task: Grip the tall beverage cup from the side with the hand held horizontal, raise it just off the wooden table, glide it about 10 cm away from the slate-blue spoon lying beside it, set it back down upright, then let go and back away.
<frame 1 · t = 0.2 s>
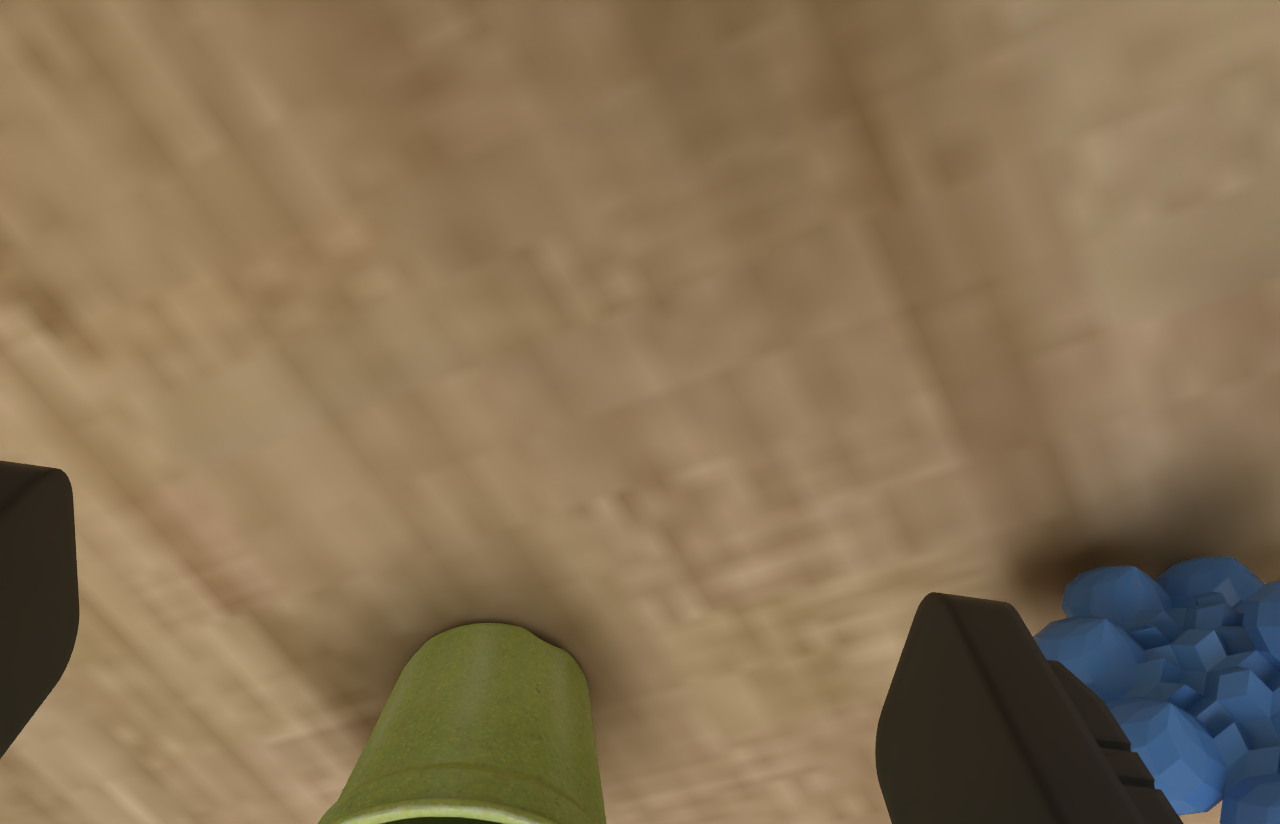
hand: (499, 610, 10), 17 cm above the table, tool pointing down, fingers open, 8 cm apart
plant pot: (493, 688, 33), on the table
grapes: (1184, 542, 31), on the table
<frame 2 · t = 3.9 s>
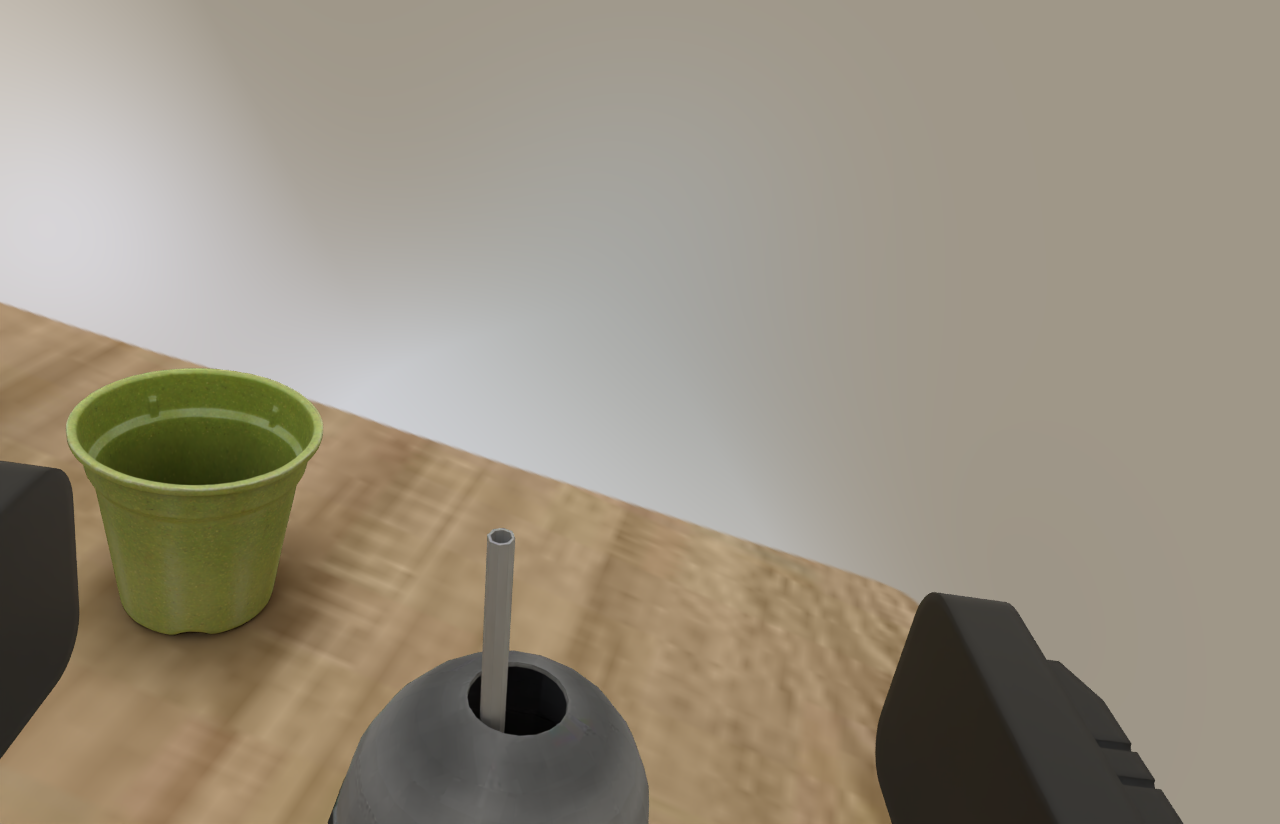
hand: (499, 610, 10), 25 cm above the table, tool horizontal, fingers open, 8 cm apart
plant pot: (200, 597, 45), on the table
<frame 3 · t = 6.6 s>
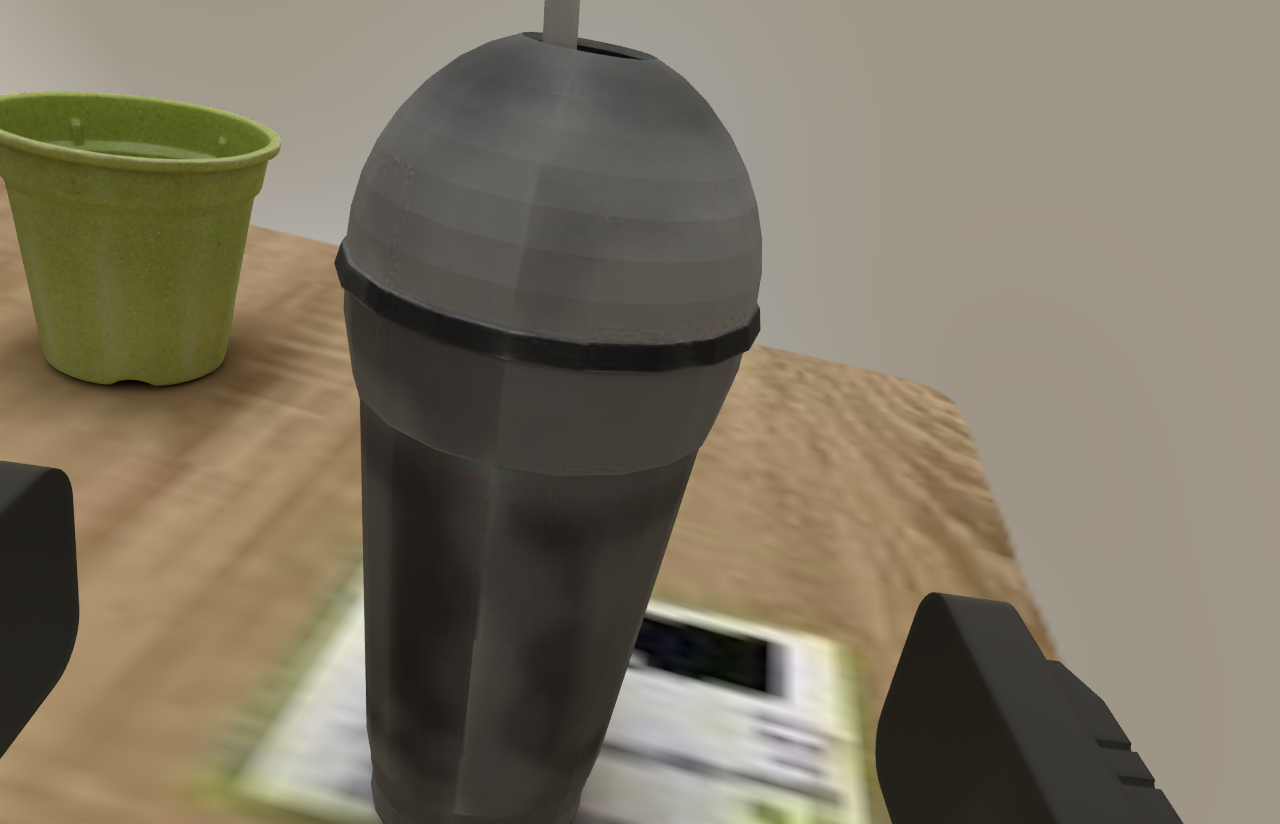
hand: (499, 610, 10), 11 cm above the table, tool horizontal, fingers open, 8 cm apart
beverage cup: (477, 790, 22), on the table
plant pot: (139, 361, 38), on the table
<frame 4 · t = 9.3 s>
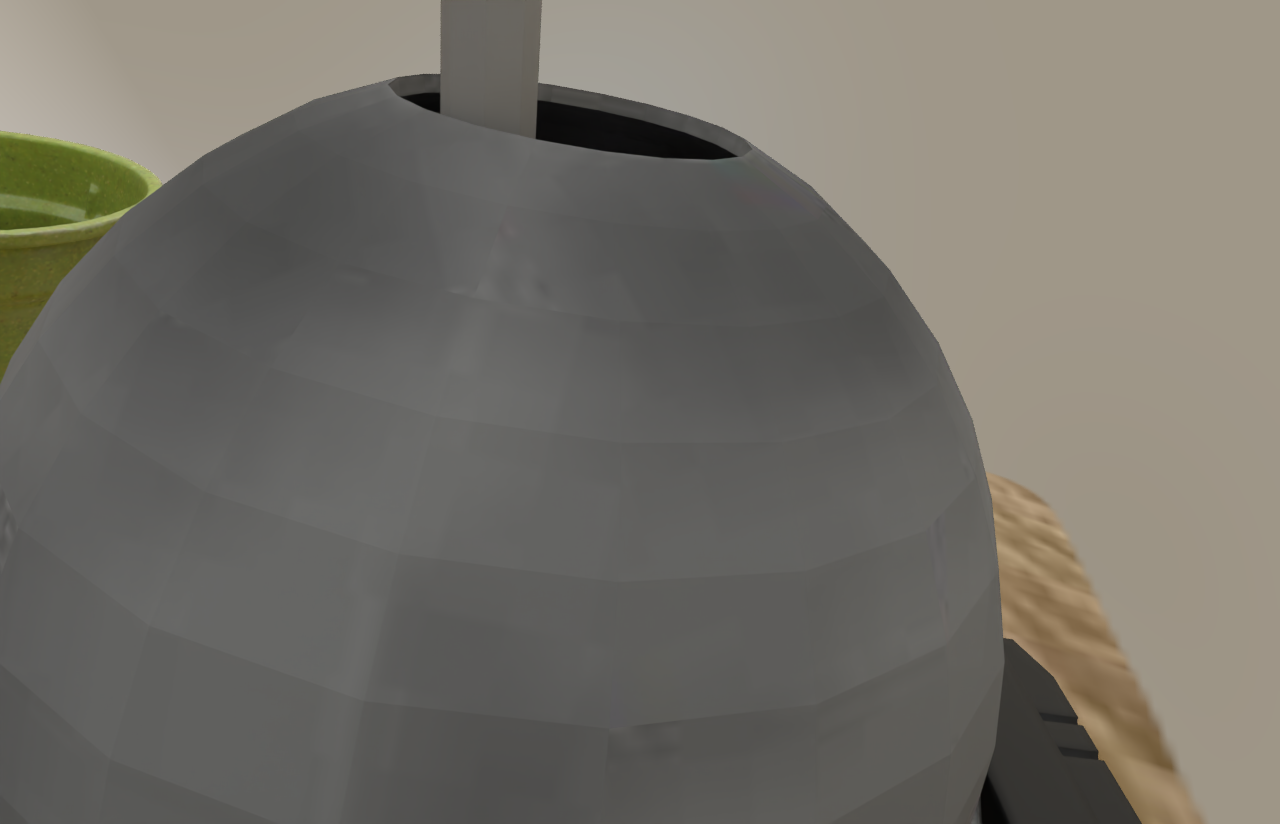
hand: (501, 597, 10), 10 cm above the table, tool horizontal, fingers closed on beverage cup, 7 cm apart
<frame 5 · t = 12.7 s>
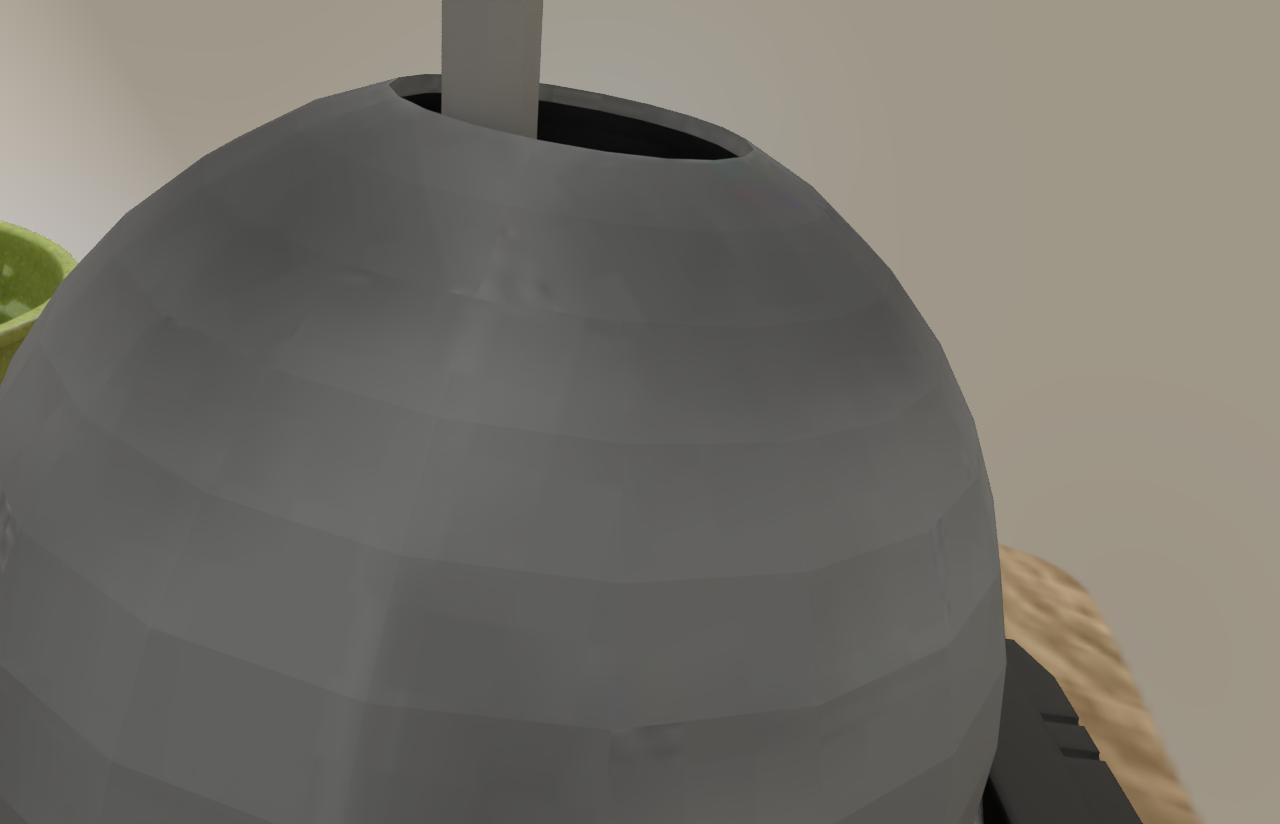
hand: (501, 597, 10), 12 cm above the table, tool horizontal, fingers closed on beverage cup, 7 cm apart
when the fingers open (10 cm above the table, at t = 16.5 s): beverage cup stays where it is, on the table.
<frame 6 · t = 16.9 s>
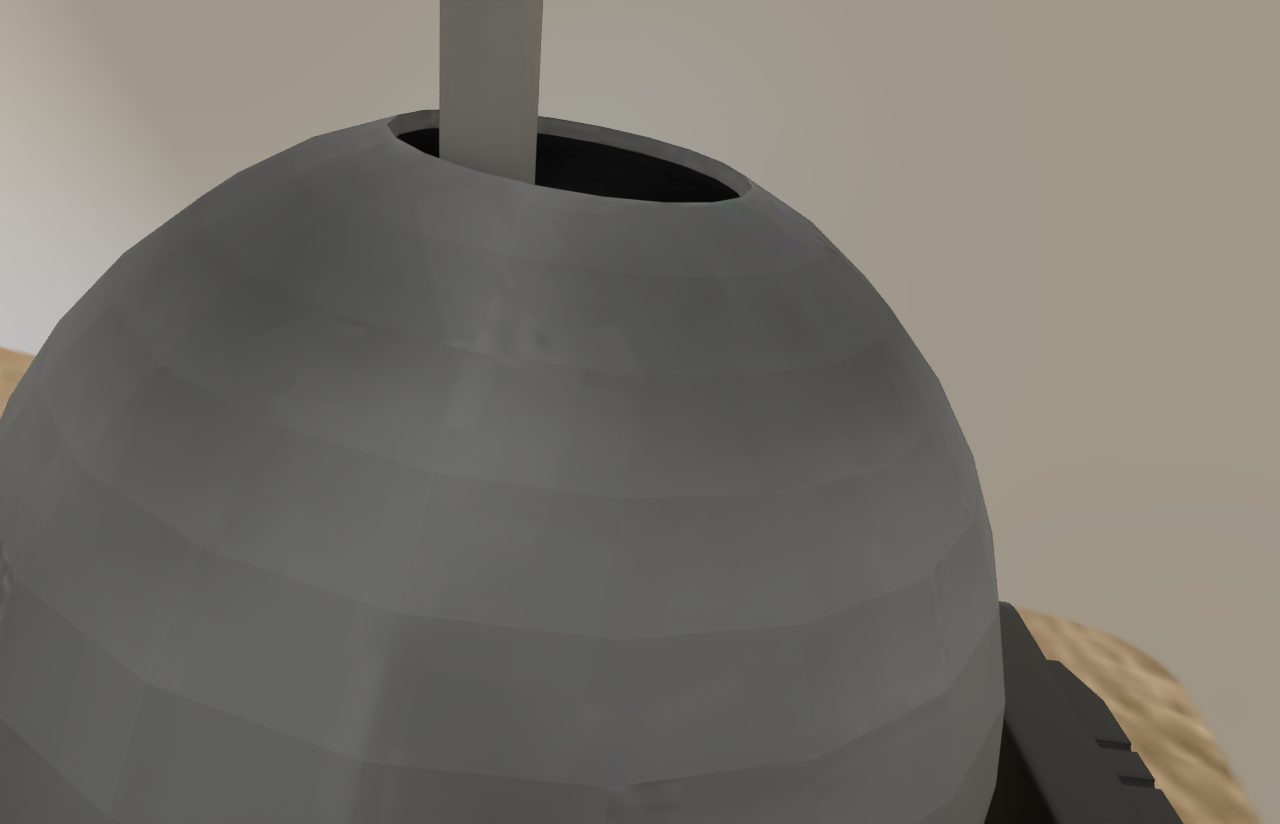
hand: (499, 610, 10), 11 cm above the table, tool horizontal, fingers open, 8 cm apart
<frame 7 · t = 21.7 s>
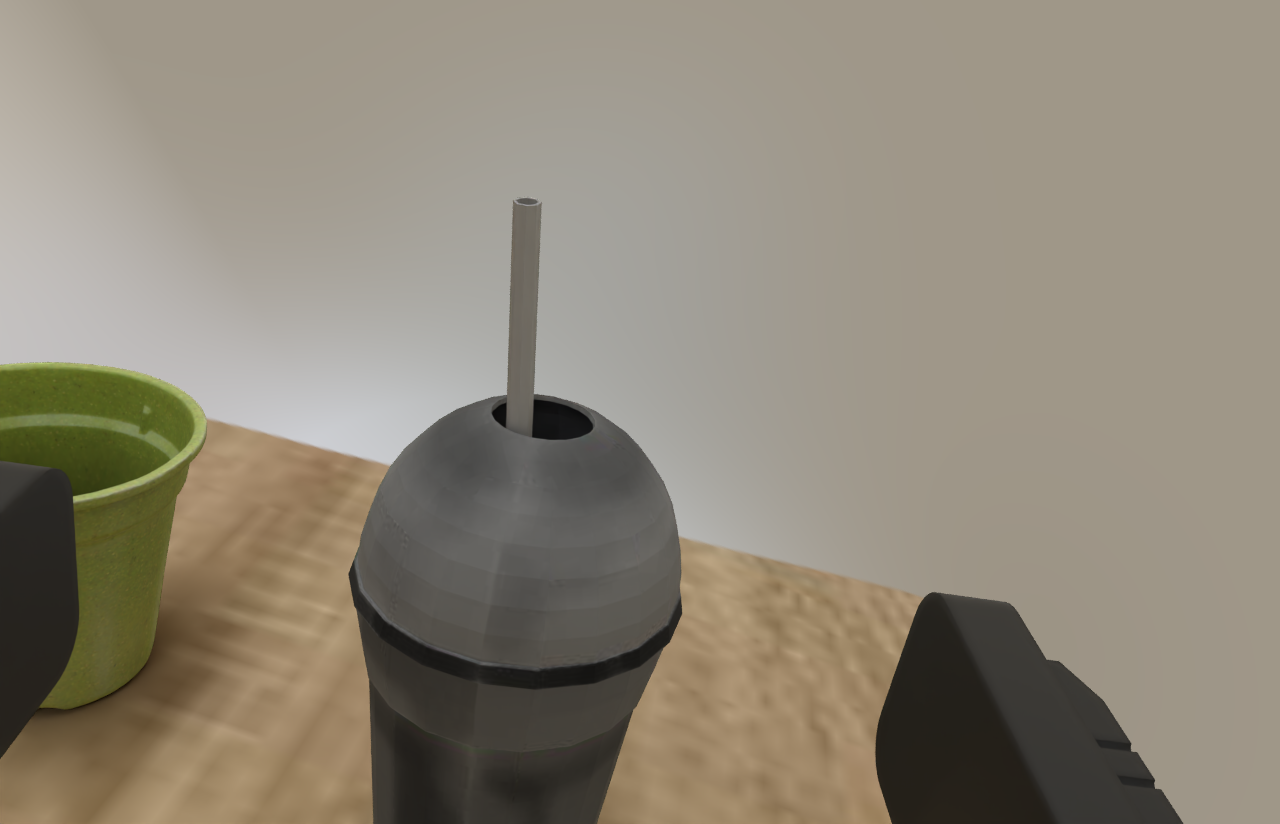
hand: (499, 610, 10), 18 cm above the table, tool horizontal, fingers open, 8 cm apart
plant pot: (54, 662, 34), on the table
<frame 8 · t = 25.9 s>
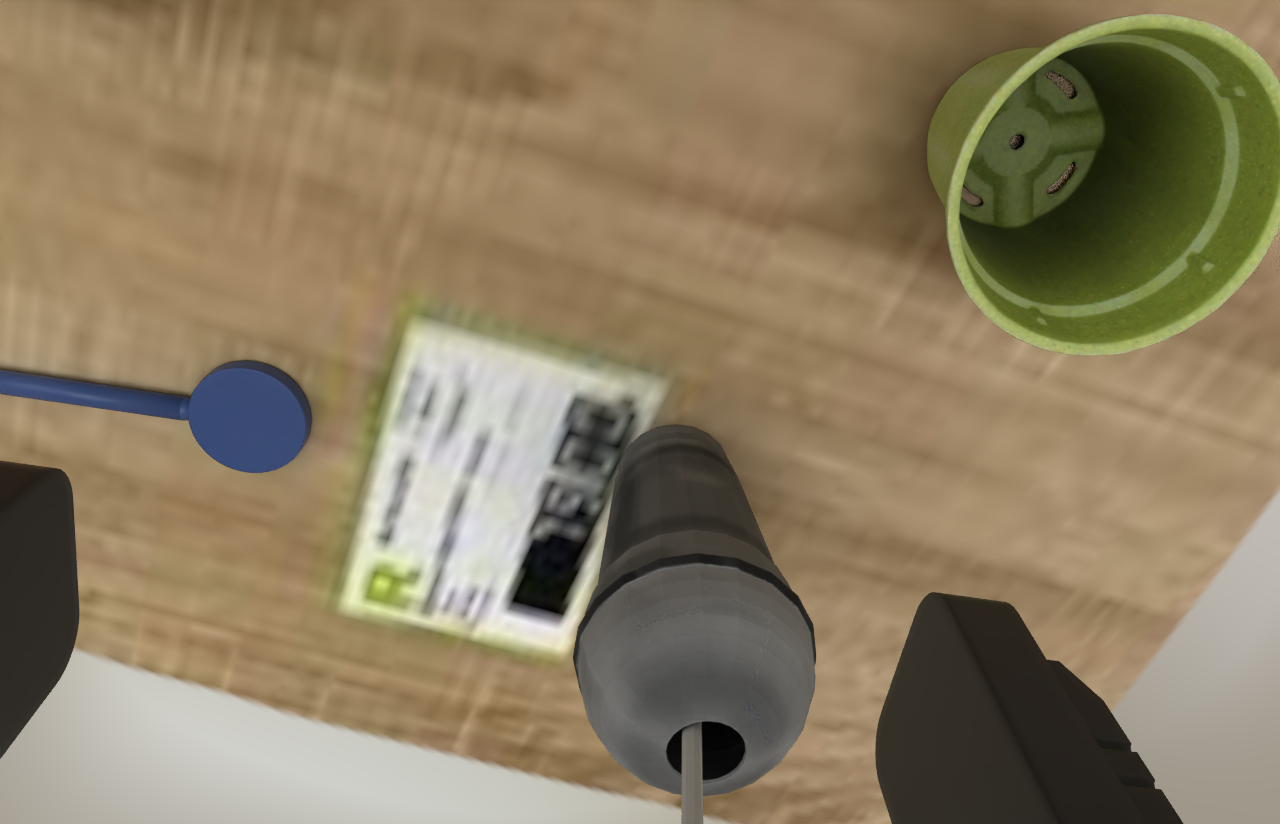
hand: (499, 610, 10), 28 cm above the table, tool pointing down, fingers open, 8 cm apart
beverage cup: (673, 473, 41), on the table
plant pot: (1007, 140, 36), on the table
spoon: (253, 413, 39), on the table
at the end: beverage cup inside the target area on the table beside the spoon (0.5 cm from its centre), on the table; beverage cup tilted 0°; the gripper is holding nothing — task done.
